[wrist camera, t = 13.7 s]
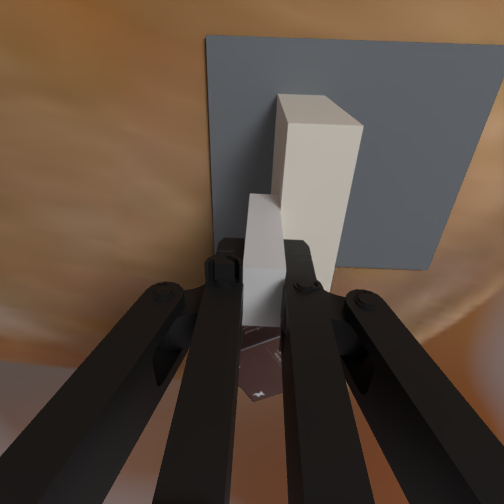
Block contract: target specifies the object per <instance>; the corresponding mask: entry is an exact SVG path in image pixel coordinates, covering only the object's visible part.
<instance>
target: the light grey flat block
mask: <svg viewBox="0 0 504 504" xmlns="http://www.w3.org/2000/svg"><path fill="white" fill-rule="evenodd" d="M363 127H364V126H363V125H362V124H361V123H359V122H358V121H357V120H356V119H354V118H353V117H352V116H351V115H349V114H348V113H347V112H345V111H344V110H343V109H342V108H340V107H339V106H338V105H337V104H335V103H334V102H333V101H331V100H330V99H329V98H328V97H326V96H325V95H298V94H277V109H276V124H275V139H274V153H273V168H272V183H271V194H274V195H279V201H280V210H281V221H282V231H283V239H291V240H304V241H305V242H306V243H307V245H308V246H309V248H310V252H311V257H312V261H313V265H314V270H315V274H316V279H317V280H318V281H319V282H321V284H322V286H323V288H324V290H325V291H327V292H330V287H331V282H332V277H333V272H334V267H335V263H336V258H337V253H338V248H339V243H340V238H341V233H342V229H343V224H344V219H345V214H346V209H347V204H348V200H349V195H350V190H351V185H352V180H353V175H354V170H355V166H356V161H357V156H358V151H359V146H360V141H361V137H362V132H363Z"/></svg>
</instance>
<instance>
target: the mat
mask: <svg viewBox="0 0 504 504" xmlns="http://www.w3.org/2000/svg"><path fill="white" fill-rule="evenodd" d="M206 51H207V77H208V102H209V127H210V153H211V178H212V204H213V229H214V255H216V251H217V246H218V243H219V242H220V241H221V240H222V239H223V238H224V237H226V238H246V228H247V218H248V207H249V197H250V194H271V183H272V168H273V153H274V139H275V124H276V109H277V94H298V95H325V96H326V97H328V98H329V99H330V100H331V101H333V102H334V103H335V104H337V105H338V106H339V107H340V108H342V109H343V110H344V111H345V112H347V113H348V114H349V115H351V116H352V117H353V118H354V119H356V120H357V121H358V122H359V123H361V124H362V125H363V126H364V127H363V132H362V137H361V141H360V146H359V151H358V156H357V161H356V166H355V170H354V175H353V180H352V185H351V190H350V195H349V200H348V204H347V209H346V214H345V219H344V224H343V229H342V233H341V238H340V243H339V248H338V253H337V258H336V263H335V267H361V268H387V269H412V270H428V268H429V266H430V263H431V261H432V258H433V256H434V253H435V251H436V248H437V245H438V243H439V240H440V238H441V235H442V233H443V230H444V228H445V225H446V223H447V220H448V218H449V215H450V213H451V210H452V207H453V205H454V202H455V200H456V197H457V195H458V192H459V190H460V187H461V185H462V182H463V180H464V177H465V174H466V172H467V169H468V167H469V164H470V162H471V159H472V157H473V154H474V152H475V149H476V147H477V144H478V142H479V139H480V136H481V134H482V131H483V129H484V126H485V124H486V121H487V119H488V116H489V114H490V111H491V109H492V106H493V104H494V101H495V98H496V96H497V93H498V91H499V88H500V86H501V83H502V81H503V78H504V45H480V44H451V43H422V42H394V41H365V40H336V39H307V38H278V37H249V36H220V35H206Z"/></svg>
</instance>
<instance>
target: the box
mask: <svg viewBox="0 0 504 504" xmlns="http://www.w3.org/2000/svg"><path fill="white" fill-rule="evenodd" d="M280 334H281V323H280V327H267V326H245V325H242V338H241V352H240V365H239V379H238V386H239V387H240V388H241V389H242V390H243V391H244V392H245V393H246V394H247V395H248V397H249V398H250V399H251V400H252V401H254V402H255V401H259V400H262V399H265V398H268V397H271V396H274V395H277V394H280V393H283V385H282V366H281V352H279V343H280Z"/></svg>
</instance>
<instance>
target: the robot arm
mask: <svg viewBox="0 0 504 504" xmlns="http://www.w3.org/2000/svg"><path fill="white" fill-rule="evenodd" d="M205 279H206V283H205V284H204V285H203V286H201V287H198V288H195V289H191V290H185V291H183V288H182V287H181V286H180V285H179V284H176V283H174V282H161V283H157V284H155V285H152V286H151V287H149V288H148V289H147V290H146V291H145V292H144V293H143V294H142V295H141V297H140V298H139V299H138V300H137V301H136V302H135V303H134V305H133V306H132V307H131V308H130V309H129V310H128V311H127V313H126V314H125V315H124V316H123V317H122V318H121V319H120V321H119V322H118V323H117V324H116V325H115V326H114V327H113V329H112V330H111V331H110V332H109V333H108V334H107V335H106V337H105V338H104V339H103V340H102V341H101V342H100V343H99V345H98V346H97V347H96V348H95V349H94V350H93V351H92V353H91V354H90V355H89V356H88V357H87V358H86V359H85V361H84V362H83V363H82V364H81V365H80V366H79V367H78V369H77V370H76V371H75V372H74V373H73V374H72V376H71V377H70V378H69V379H68V380H67V381H66V382H65V383H64V385H63V386H62V387H61V388H60V389H59V390H58V391H57V393H56V394H55V395H54V396H53V397H52V398H51V399H50V401H49V402H48V403H47V404H46V405H45V407H43V409H42V410H41V411H40V412H39V413H38V414H37V416H36V417H35V418H34V419H33V420H32V421H31V423H30V424H29V425H28V426H27V427H26V428H25V429H24V430H23V431H22V433H21V434H20V435H19V436H18V437H17V438H16V439H15V441H14V442H13V443H12V444H11V445H10V446H9V447H8V449H7V450H6V451H5V452H4V453H3V454H2V455H1V457H0V504H102V503H103V501H104V499H105V498H106V496H107V494H108V492H109V491H110V489H111V487H112V485H113V483H114V482H115V480H116V478H117V476H118V475H119V473H120V471H121V469H122V467H123V465H124V464H125V462H126V460H127V458H128V457H129V455H130V453H131V451H132V449H133V448H134V446H135V444H136V442H137V441H138V439H139V437H140V435H141V433H142V432H143V430H144V428H145V426H146V425H147V423H148V421H149V419H150V418H151V416H152V414H153V412H154V410H155V409H156V407H157V405H158V403H159V401H160V400H161V398H162V396H163V394H164V392H165V391H166V389H167V387H168V385H169V384H170V382H171V380H172V378H173V377H174V375H175V373H176V371H177V369H178V368H179V366H180V364H181V362H182V361H183V359H184V357H185V355H186V353H187V352H188V349H189V347H190V349H189V353H188V357H187V361H186V365H185V369H184V374H183V378H182V382H181V386H180V390H179V394H178V398H177V403H176V407H175V411H174V415H173V419H172V423H171V427H170V431H169V435H168V439H167V444H166V448H165V452H164V456H163V460H162V464H161V468H160V473H159V477H158V481H157V485H156V489H155V493H154V497H153V501H152V504H229V500H230V487H231V472H232V460H233V446H234V433H235V418H236V406H237V392H238V379H239V365H240V352H241V338H242V325H245V326H267V327H280V323H281V334H280V343H279V352H281V366H282V385H283V405H284V425H285V444H286V464H287V484H288V503H289V504H375V502H374V498H373V494H372V489H371V485H370V481H369V477H368V473H367V469H366V465H365V460H364V456H363V452H362V448H361V443H360V439H359V435H358V431H357V427H356V422H355V419H354V415H353V410H352V406H351V401H350V398H349V393H348V389H347V385H346V382H347V383H348V385H349V387H350V389H351V391H352V393H353V395H354V397H355V399H356V401H357V403H358V405H359V407H360V409H361V410H362V413H363V415H364V416H365V418H366V420H367V422H368V424H369V426H370V428H371V430H372V432H373V434H374V436H375V438H376V440H377V442H378V444H379V446H380V448H381V449H382V451H383V453H384V455H385V457H386V459H387V461H388V463H389V465H390V467H391V469H392V471H393V473H394V475H395V477H396V479H397V480H398V482H399V484H400V486H401V488H402V490H403V492H404V494H405V496H406V498H407V500H408V502H409V504H504V446H503V445H502V444H501V442H500V441H499V440H498V439H497V437H496V436H495V435H494V434H493V433H492V431H491V430H490V429H489V428H488V426H487V425H486V424H485V423H484V422H483V420H482V419H481V418H480V417H479V416H478V414H477V413H476V412H475V411H474V409H473V408H472V407H471V406H470V405H469V403H468V402H467V401H466V400H465V399H464V397H463V396H462V395H461V394H460V392H459V391H458V390H457V389H456V388H455V387H454V385H453V384H452V383H451V381H449V379H448V378H447V377H446V375H445V374H444V373H443V372H442V370H441V369H440V368H439V367H438V366H437V364H436V363H435V362H434V361H433V359H432V358H431V357H430V356H429V355H428V353H426V351H425V350H424V349H423V347H422V346H421V345H420V344H419V342H418V341H417V340H416V339H415V338H414V336H413V335H412V334H411V333H410V331H409V330H408V329H407V328H406V327H405V325H404V324H403V323H402V322H401V321H400V319H399V318H398V317H397V316H396V314H395V313H394V312H393V311H392V310H391V308H390V307H389V306H388V305H387V303H386V302H385V301H384V300H383V299H382V298H381V297H380V296H379V295H377V294H375V293H373V292H371V291H367V290H357V289H356V290H353V291H350V292H349V293H348V294H347V295H346V297H342V296H338V295H335V294H332V293H329V292H327V291H325V290H324V288H323V286H322V284H321V282H319V281H318V280H317V279H316V274H315V270H314V265H313V261H312V257H311V252H310V248H309V246H308V245H307V243H306V242H305V241H304V240H291V239H283V231H282V221H281V210H280V201H279V195H274V194H250V197H249V207H248V218H247V228H246V238H226V237H224V238H223V239H222V240H221V241H220V242H219V243H218V246H217V251H216V255H213V256H211V257H209V258H208V259H207V260H206V261H205ZM345 380H346V381H345Z"/></svg>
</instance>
